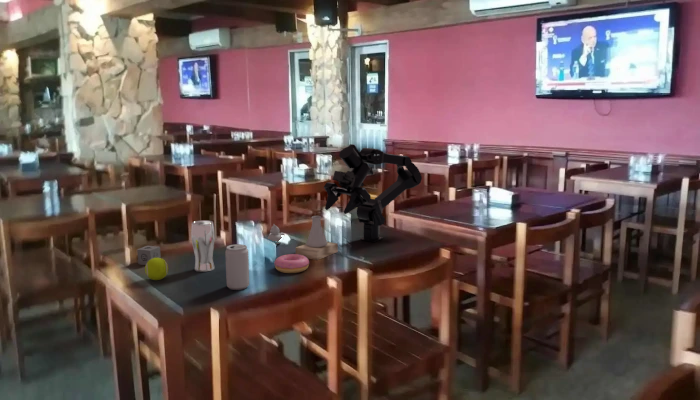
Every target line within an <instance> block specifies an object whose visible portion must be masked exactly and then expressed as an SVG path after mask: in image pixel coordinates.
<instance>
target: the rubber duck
mask: <svg viewBox="0 0 700 400" xmlns="http://www.w3.org/2000/svg"><path fill="white" fill-rule="evenodd" d="M269 232H270V233H269V235H268V237H267V240H268V239H270V240H272V241H277V242H278V241H279V240H280V239H281V238H282V237H281V235H284V236H285V233H284V232H280V228H279V227H278V226H277V225H275V223H273V224H272V226H271V228H270V230H269ZM281 243H282V242H280V243H276V245H279V244H281Z"/></svg>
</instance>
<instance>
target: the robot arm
mask: <svg viewBox="0 0 700 400" xmlns="http://www.w3.org/2000/svg"><path fill="white" fill-rule="evenodd" d="M338 157H339V159H341V160H342V162H343V163H344V164H345V165H346V167H347V168H348V169H351V170H347V171H346V172H345V171H339V170H334V172H333V175H332V180H333V181H335V182H328V181H327V182H326V183H325V185H324V186H323V189H324V191H325V192H326V194H327V195H326V197H327V198H326V202H325V207H324V209H325V211H328V210H330V209H331V207H333V205H335V203H337V202H338V200H339V198H340V197H341V195H346V196H347V195H348V196H350V198H349V201H348V203H347V204H346V206H345V207H344V210H343V214H344V215H347V214H348V213H350V212H351V211H353V210H355V209H356V215H357V218H358V222H359V223H361V224H363V231H362V233H363V234H362V236H363V237H360V238H359V240H360V241H366V242H372V243H376V242H378V241H380V240H383V239H384V237H383V236H380V226H383V225H384V224H385V222H386V221H385V220H386V218H385V217H384V216H383V212H384V211H383V210H384V209H385V208H386V207H387V206H388V205H389V204H390V203H391V202H393V201H394V200H395V199H396V198H397V197H399V196H400V195H401V194H402V193H403V192H405V191H407V190H410V189H413V188H415V187H417V186H419V185H420V184H421V183H422V179H423V177H422V174H421V171H420V169H419V168H418V166H416V165H415V164H414V163H413V162H412V160H411V158H410V156H408V155H402V154H401V155H400V154H391V153H386V152H384V151H382V150H380V149H378V148H371V147H363V148H362V149H361V150H360V151H359V149H358V148H357V146H356V145H355V144H354V143H353V144H351V143H350V144H349V145H347V146H345V148H343V149H341V150H340V152H339V154H338ZM382 164H391V165H396V166H397V167H396V173H397V178H396V181H395V182H394V183H392V184H391V185H390V186H389V187H388V188H386V189H385V190H383V192H381V193H380V194H378V196H376V197H375V198H372V197H371V194H370V193H369V192H368V190H367V189H366V188H365V187H364V186H365V184H364V181H365V179H366V178H367V176H368V175H369V176H372V175H374V171H373V167H372V166H370V165H374V166H375V165H376V166H377V165H382ZM404 167H405V168H404ZM336 182H338V185H339V186H340V187H339V186H338V185H337V183H336Z"/></svg>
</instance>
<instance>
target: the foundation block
mask: <svg viewBox="0 0 700 400" xmlns="http://www.w3.org/2000/svg"><path fill="white" fill-rule="evenodd" d="M327 243H328V244H327V245H326V246H323V247H309V246H307V245H306V243H305V244H302V245H299V246H296V247H295V254H300V255H303V256H305V257H307V258H308V260H309V259H310V260H314V261H319V260H321V259H324V258H326V257H328V256H331V255H333V254H336V253H338V252H339V247H338V246H339V244H338V242H337V243H336V242H330V241H327Z"/></svg>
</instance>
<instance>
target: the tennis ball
mask: <svg viewBox="0 0 700 400" xmlns="http://www.w3.org/2000/svg"><path fill="white" fill-rule="evenodd" d="M144 273H145V276H147V278H149V279H150V280H153V281H160V280H162V279H164V278H165V277H166V276H167V275H168V273H169V264H168V263H167V262H166V260H165V259H164V258H152V259H150V260H149V261H148V262H147V264H146V265H145V266H144Z"/></svg>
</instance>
